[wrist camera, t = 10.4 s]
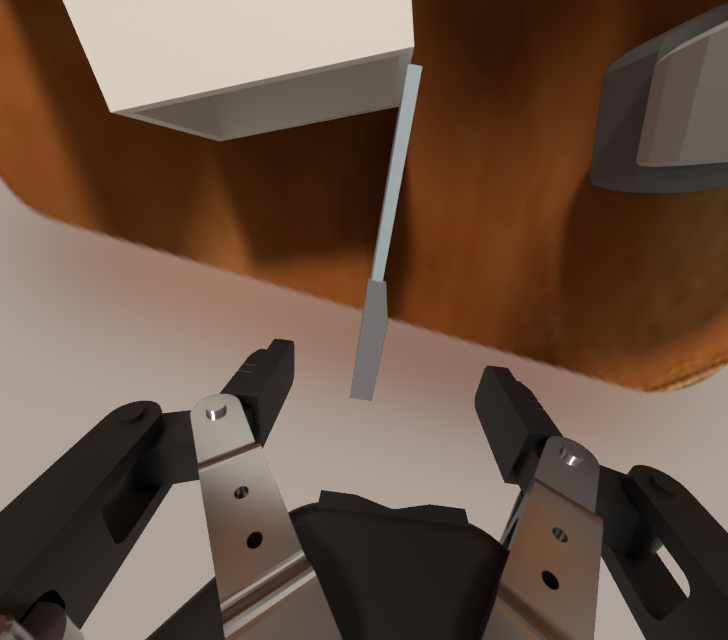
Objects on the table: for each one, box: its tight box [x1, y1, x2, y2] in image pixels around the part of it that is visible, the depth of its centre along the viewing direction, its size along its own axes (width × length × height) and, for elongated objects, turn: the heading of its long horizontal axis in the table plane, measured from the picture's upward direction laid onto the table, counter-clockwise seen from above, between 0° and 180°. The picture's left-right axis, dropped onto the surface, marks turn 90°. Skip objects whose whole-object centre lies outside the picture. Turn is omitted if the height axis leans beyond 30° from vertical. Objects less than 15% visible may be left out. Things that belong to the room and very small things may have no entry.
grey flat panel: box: [350, 64, 422, 401], centre depth 17 cm, size 14×1×15 cm, turn 172°
